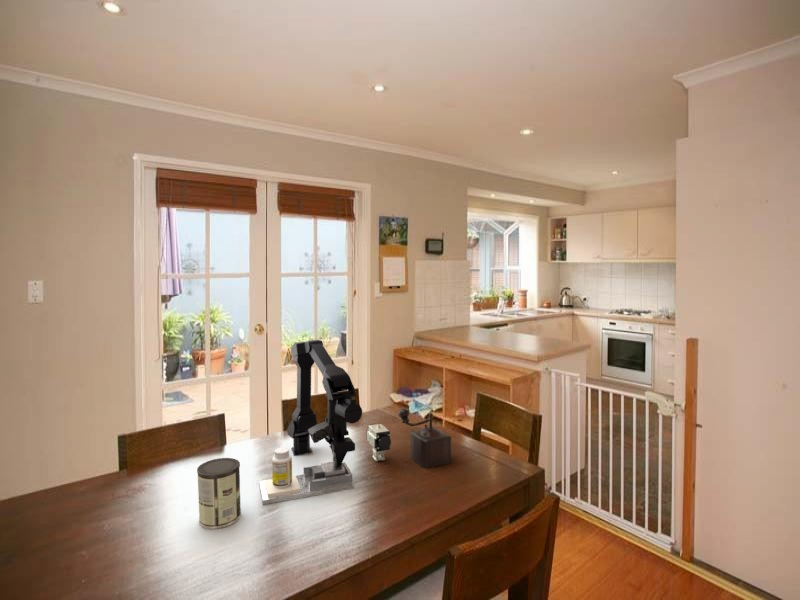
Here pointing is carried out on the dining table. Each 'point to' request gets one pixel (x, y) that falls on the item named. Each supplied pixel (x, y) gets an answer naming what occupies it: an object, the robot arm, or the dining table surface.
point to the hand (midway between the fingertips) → (337, 464)
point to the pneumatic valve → (378, 440)
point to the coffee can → (219, 493)
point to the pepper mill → (428, 443)
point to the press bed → (279, 491)
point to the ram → (328, 470)
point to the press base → (312, 486)
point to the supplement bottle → (282, 468)
